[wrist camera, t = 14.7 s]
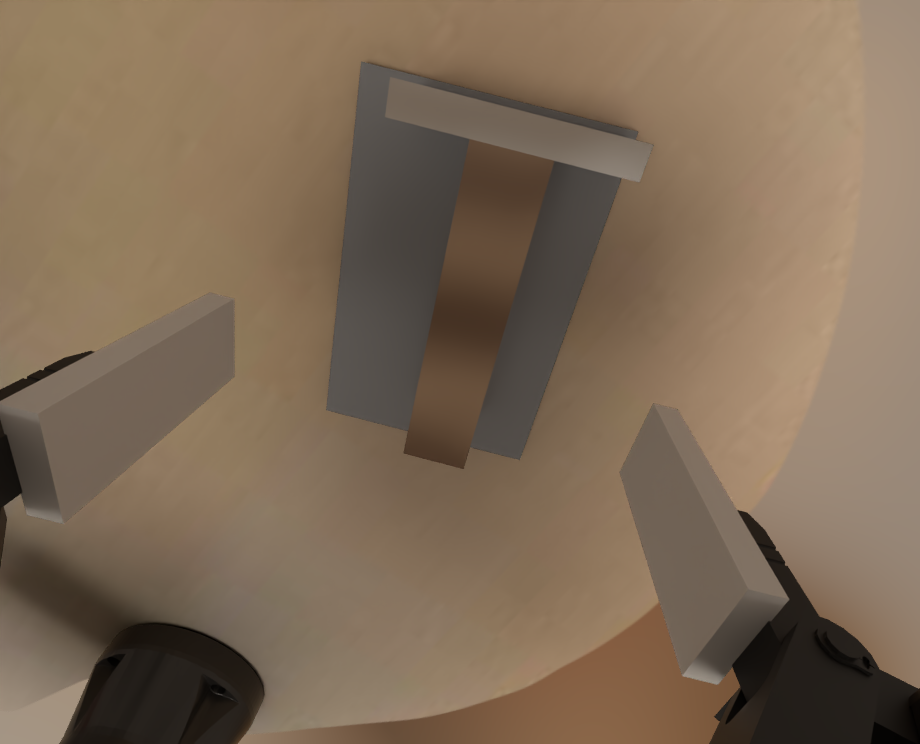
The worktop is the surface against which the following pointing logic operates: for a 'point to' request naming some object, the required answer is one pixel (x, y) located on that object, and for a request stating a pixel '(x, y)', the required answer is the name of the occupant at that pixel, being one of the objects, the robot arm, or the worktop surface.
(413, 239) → the mat
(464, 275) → the scraper
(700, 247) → the worktop surface
